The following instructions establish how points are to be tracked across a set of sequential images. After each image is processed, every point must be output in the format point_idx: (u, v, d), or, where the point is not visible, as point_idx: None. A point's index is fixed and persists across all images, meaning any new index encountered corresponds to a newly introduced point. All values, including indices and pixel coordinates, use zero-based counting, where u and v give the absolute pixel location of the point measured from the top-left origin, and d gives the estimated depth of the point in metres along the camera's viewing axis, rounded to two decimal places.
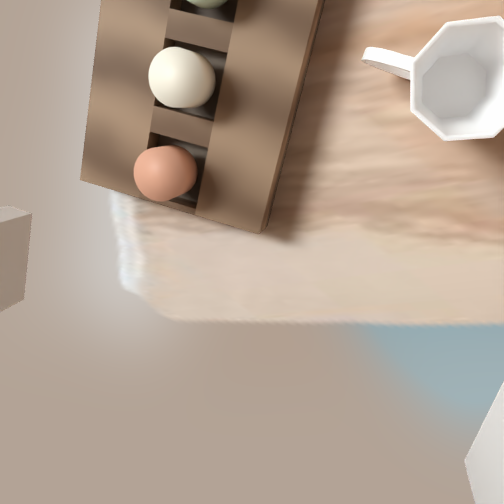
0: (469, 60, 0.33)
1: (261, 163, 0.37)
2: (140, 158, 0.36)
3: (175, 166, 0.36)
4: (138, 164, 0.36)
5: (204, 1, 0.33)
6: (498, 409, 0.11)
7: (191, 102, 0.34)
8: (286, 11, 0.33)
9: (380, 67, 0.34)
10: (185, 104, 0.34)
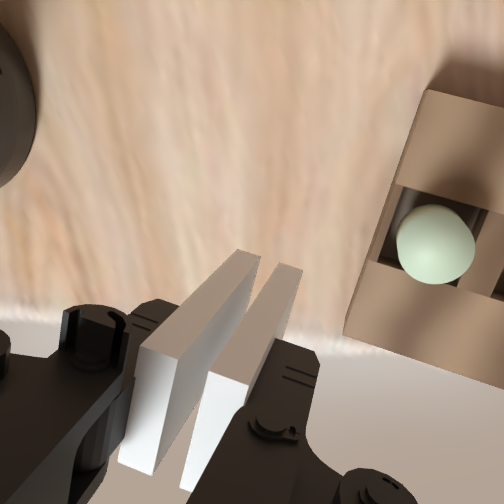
0: None
1: None
2: None
3: None
4: None
5: None
6: None
7: None
8: (487, 142, 0.27)
9: None
10: None
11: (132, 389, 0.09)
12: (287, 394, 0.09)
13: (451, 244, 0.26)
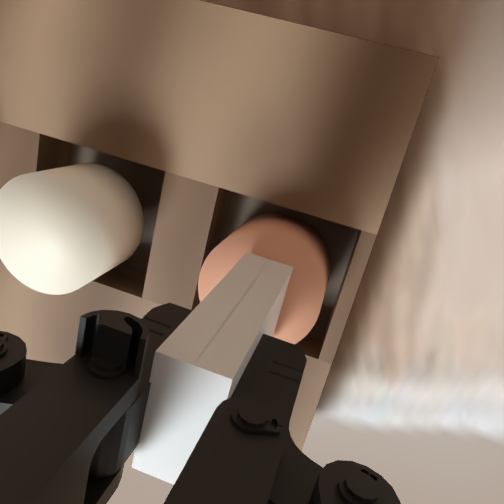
0: None
1: (250, 53, 0.15)
2: None
3: (237, 249, 0.15)
4: None
5: None
6: None
7: (90, 203, 0.15)
8: None
9: None
10: (92, 217, 0.15)
11: (147, 394, 0.09)
12: (272, 389, 0.10)
13: None
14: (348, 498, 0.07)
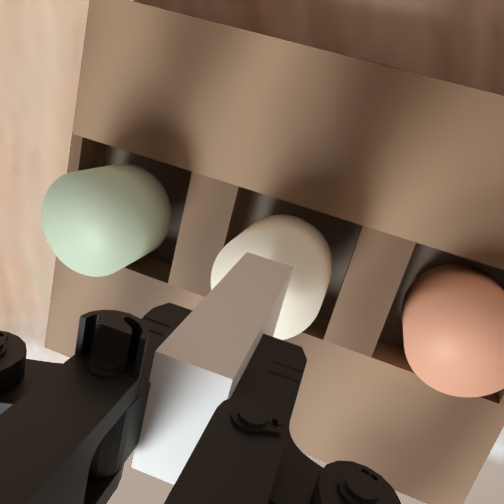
0: None
1: (464, 123, 0.16)
2: (424, 375, 0.17)
3: (450, 304, 0.16)
4: (436, 382, 0.17)
5: (144, 214, 0.18)
6: None
7: (315, 260, 0.16)
8: (176, 69, 0.18)
9: None
10: (318, 273, 0.16)
11: (147, 394, 0.09)
12: (272, 389, 0.10)
13: (105, 217, 0.18)
14: (348, 498, 0.07)
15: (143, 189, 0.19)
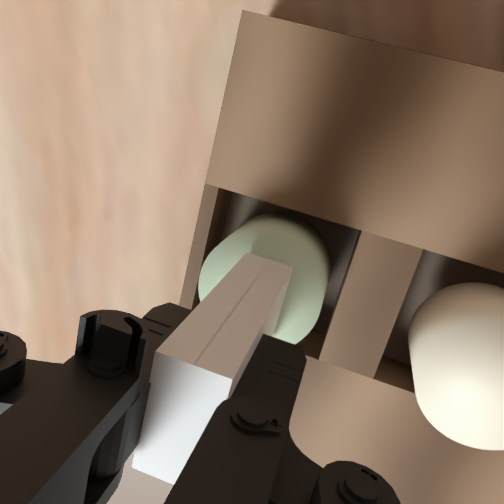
0: None
1: None
2: None
3: None
4: None
5: (323, 279, 0.15)
6: None
7: None
8: (351, 108, 0.15)
9: None
10: None
11: (147, 394, 0.09)
12: (272, 390, 0.09)
13: None
14: (349, 498, 0.07)
15: (314, 248, 0.16)
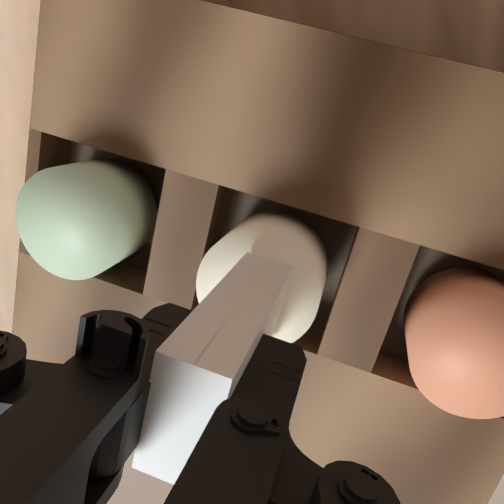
0: None
1: (474, 109, 0.14)
2: (431, 395, 0.15)
3: (461, 315, 0.14)
4: (446, 402, 0.15)
5: (127, 212, 0.17)
6: None
7: (310, 261, 0.15)
8: (144, 52, 0.16)
9: None
10: (313, 276, 0.15)
11: (147, 394, 0.09)
12: (272, 389, 0.10)
13: (85, 216, 0.16)
14: (348, 498, 0.07)
15: (125, 185, 0.17)
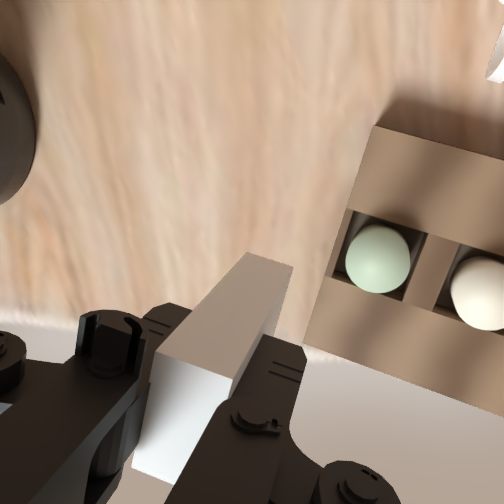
0: None
1: None
2: None
3: None
4: None
5: None
6: None
7: None
8: (425, 173, 0.30)
9: None
10: None
11: (147, 394, 0.09)
12: (272, 390, 0.10)
13: (390, 259, 0.31)
14: (349, 498, 0.07)
15: (404, 241, 0.31)
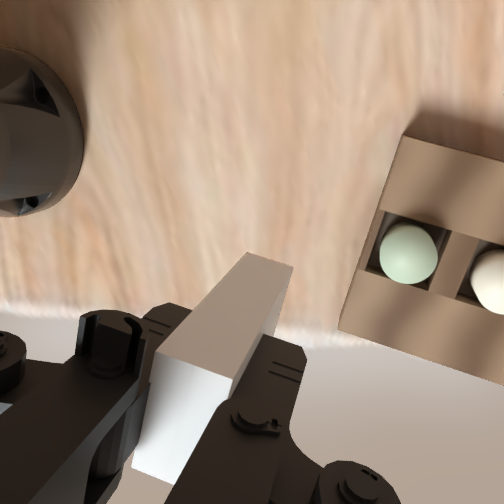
0: None
1: None
2: None
3: None
4: None
5: None
6: None
7: None
8: (450, 178, 0.35)
9: None
10: None
11: (147, 395, 0.09)
12: (272, 389, 0.09)
13: (419, 254, 0.35)
14: (349, 498, 0.07)
15: (430, 238, 0.36)
